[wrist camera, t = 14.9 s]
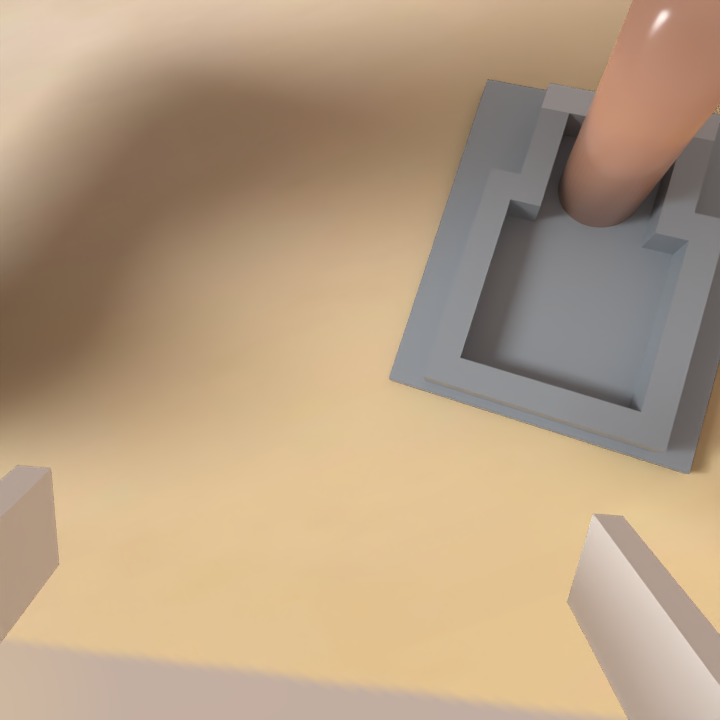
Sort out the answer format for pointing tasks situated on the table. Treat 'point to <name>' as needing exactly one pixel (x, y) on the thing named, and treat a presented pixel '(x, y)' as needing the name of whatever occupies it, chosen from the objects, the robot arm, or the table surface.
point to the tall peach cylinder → (644, 108)
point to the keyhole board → (571, 288)
